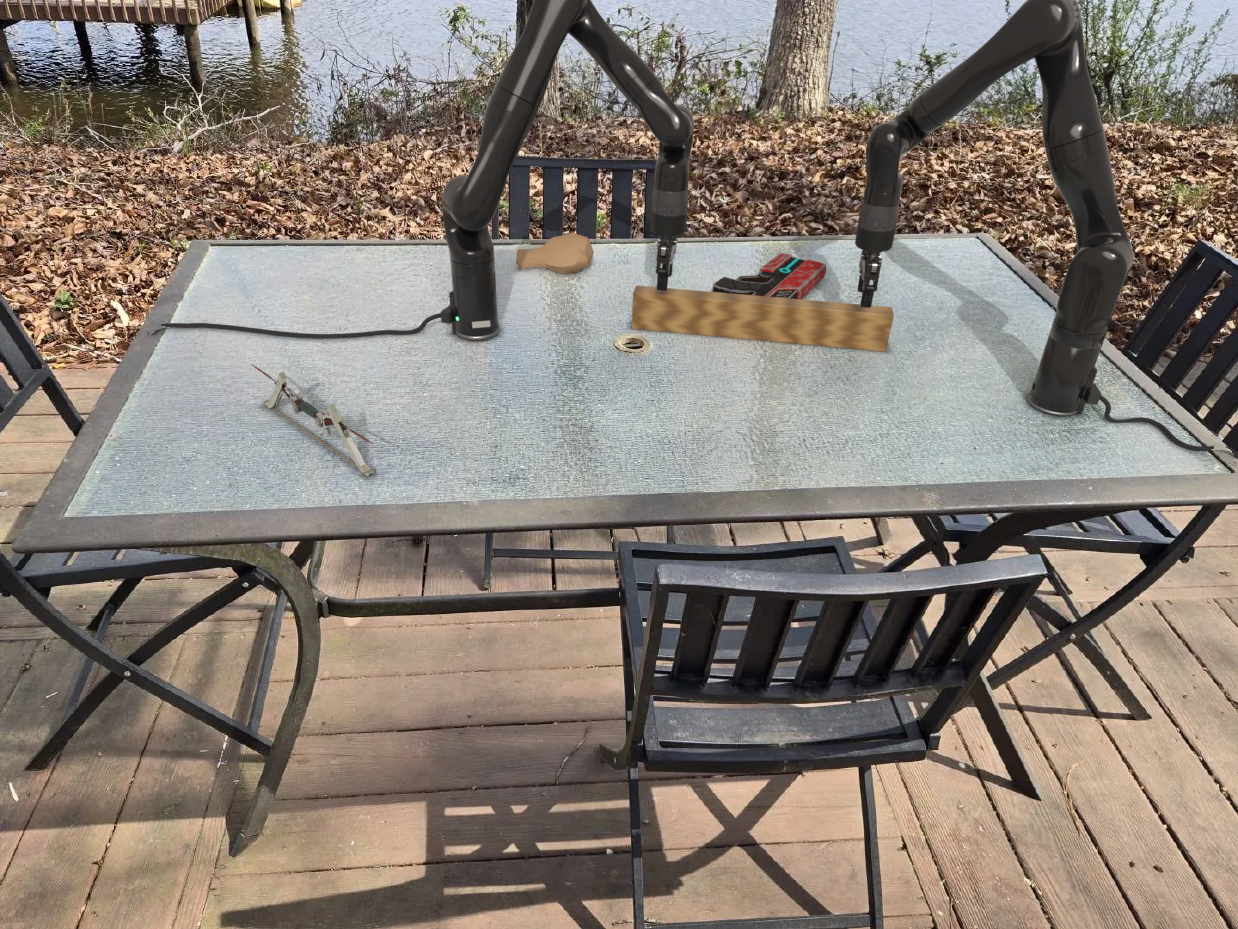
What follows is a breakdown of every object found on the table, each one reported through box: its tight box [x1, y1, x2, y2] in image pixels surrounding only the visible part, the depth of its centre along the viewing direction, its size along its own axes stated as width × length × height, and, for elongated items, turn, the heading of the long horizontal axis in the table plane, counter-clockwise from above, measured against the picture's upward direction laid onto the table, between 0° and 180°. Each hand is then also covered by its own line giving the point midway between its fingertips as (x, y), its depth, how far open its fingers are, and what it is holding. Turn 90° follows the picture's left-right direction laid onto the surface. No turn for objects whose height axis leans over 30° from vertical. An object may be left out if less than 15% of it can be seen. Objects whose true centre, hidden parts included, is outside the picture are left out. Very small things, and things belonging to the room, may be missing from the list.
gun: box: [711, 252, 827, 300], centre depth 215 cm, size 4×31×19 cm
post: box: [631, 285, 895, 353], centre depth 193 cm, size 56×4×9 cm, turn 81°
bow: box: [250, 363, 375, 477], centre depth 152 cm, size 39×2×10 cm, turn 47°
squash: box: [515, 232, 595, 275], centre depth 223 cm, size 11×20×9 cm, turn 90°
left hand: (664, 282), depth 191 cm, fingers open, 8 cm apart
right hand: (863, 299), depth 186 cm, fingers open, 8 cm apart
